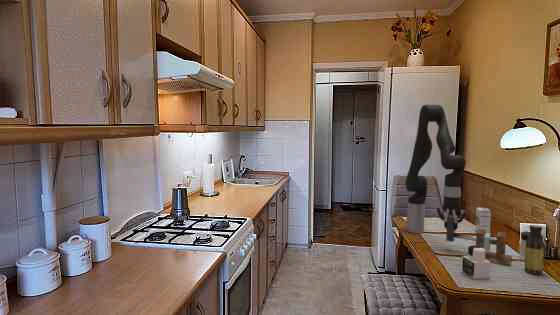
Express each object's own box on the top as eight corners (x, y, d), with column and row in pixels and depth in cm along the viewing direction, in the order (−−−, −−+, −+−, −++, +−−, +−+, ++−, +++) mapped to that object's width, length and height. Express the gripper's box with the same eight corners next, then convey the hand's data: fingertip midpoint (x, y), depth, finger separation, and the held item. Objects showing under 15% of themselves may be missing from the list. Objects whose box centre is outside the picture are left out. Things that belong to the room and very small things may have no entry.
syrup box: (490, 234, 183) (491, 210, 182) (478, 234, 185) (480, 209, 183) (485, 231, 189) (487, 207, 188) (474, 231, 190) (476, 207, 189)
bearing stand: (468, 257, 150) (469, 232, 150) (472, 250, 160) (473, 226, 159) (510, 266, 141) (511, 239, 140) (511, 257, 150) (512, 233, 149)
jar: (546, 261, 146) (548, 235, 145) (536, 264, 142) (538, 238, 141) (524, 254, 154) (526, 230, 153) (514, 257, 150) (516, 232, 149)
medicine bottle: (461, 271, 136) (462, 244, 135) (477, 271, 136) (478, 243, 135) (473, 279, 129) (474, 250, 128) (489, 278, 129) (491, 249, 128)
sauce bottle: (546, 276, 131) (549, 228, 129) (527, 274, 133) (530, 227, 131) (538, 269, 137) (541, 224, 136) (521, 268, 139) (524, 223, 137)
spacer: (483, 251, 149) (484, 236, 148) (484, 247, 154) (485, 232, 154) (488, 252, 148) (489, 237, 147) (489, 248, 153) (490, 233, 152)
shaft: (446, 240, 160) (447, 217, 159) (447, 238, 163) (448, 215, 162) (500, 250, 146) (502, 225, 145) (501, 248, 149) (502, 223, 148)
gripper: (434, 194, 160) (433, 228, 161) (467, 198, 151) (465, 233, 152) (438, 192, 166) (437, 225, 167) (469, 195, 157) (468, 230, 158)
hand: (450, 229), depth 160 cm, fingers closed on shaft, 3 cm apart
